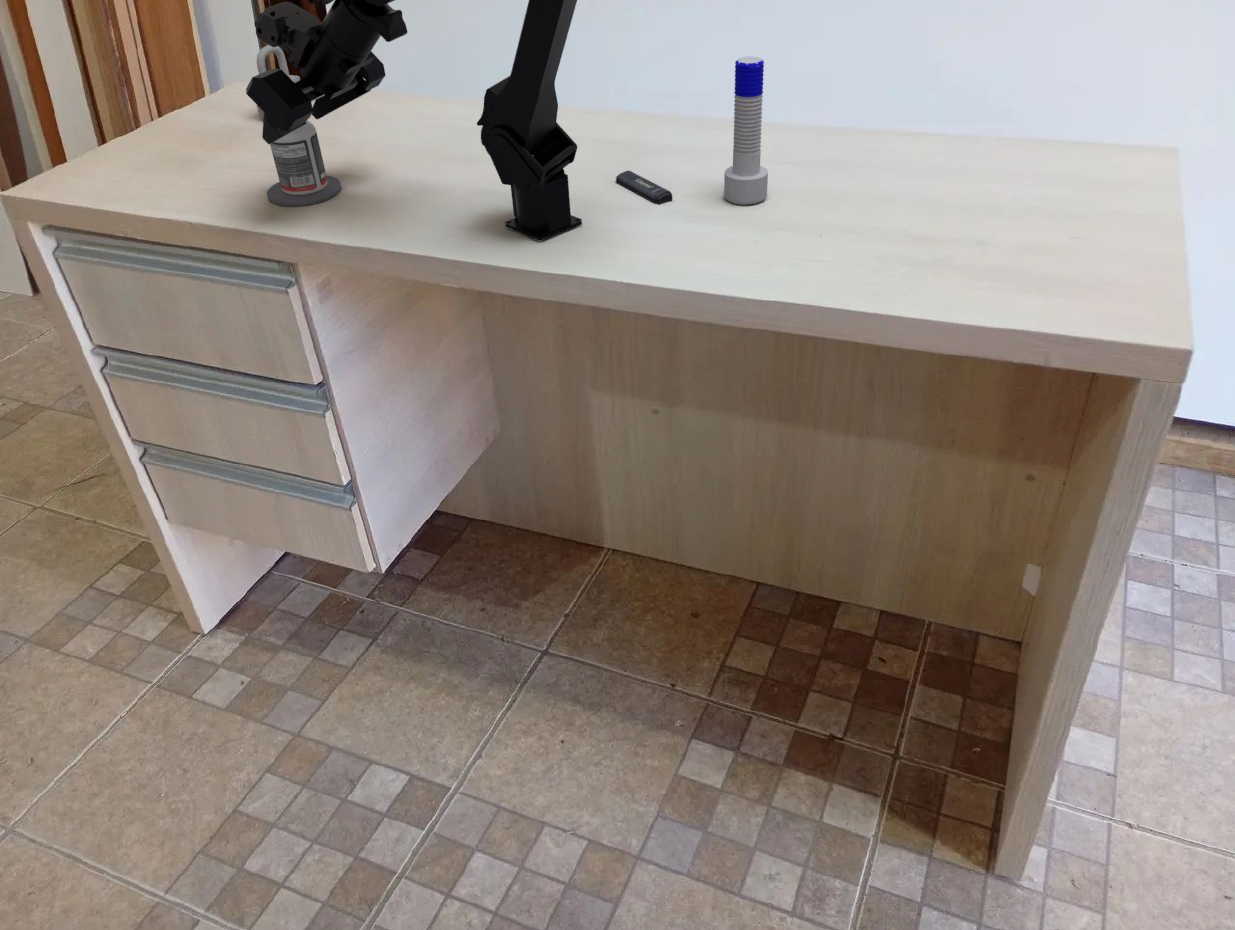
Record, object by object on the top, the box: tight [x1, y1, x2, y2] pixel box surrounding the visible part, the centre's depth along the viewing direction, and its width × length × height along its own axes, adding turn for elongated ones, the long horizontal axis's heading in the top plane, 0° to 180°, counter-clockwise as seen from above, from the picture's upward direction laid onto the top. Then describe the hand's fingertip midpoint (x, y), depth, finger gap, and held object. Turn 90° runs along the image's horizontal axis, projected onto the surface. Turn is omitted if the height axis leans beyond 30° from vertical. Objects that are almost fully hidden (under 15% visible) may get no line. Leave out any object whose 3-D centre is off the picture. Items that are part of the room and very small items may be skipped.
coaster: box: [266, 174, 342, 208], centre depth 128 cm, size 9×9×1 cm
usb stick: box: [615, 170, 673, 205], centre depth 123 cm, size 10×3×2 cm, turn 32°
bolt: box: [723, 56, 769, 206], centre depth 116 cm, size 16×5×5 cm
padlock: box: [256, 44, 301, 121], centre depth 151 cm, size 7×4×10 cm, turn 152°
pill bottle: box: [269, 120, 328, 195], centre depth 125 cm, size 6×6×10 cm
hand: (291, 128), depth 123 cm, fingers open, 9 cm apart
